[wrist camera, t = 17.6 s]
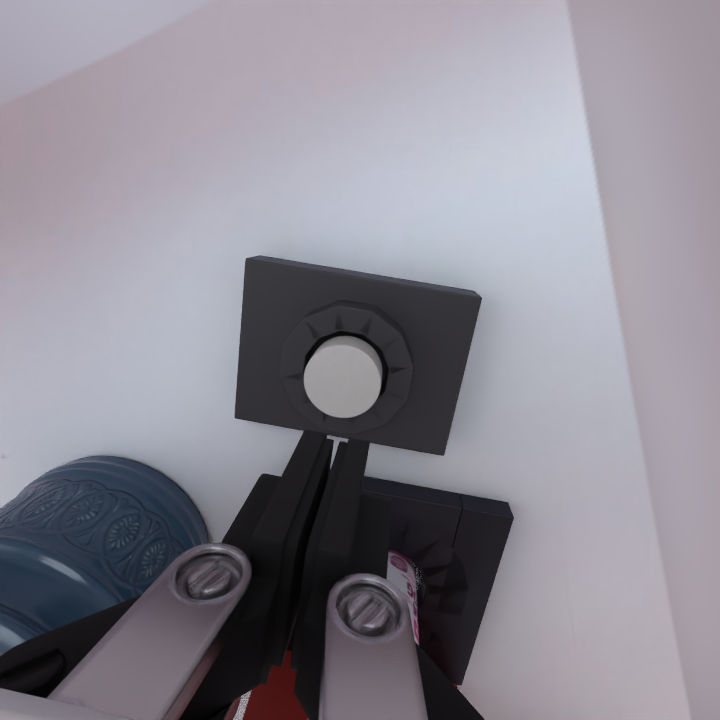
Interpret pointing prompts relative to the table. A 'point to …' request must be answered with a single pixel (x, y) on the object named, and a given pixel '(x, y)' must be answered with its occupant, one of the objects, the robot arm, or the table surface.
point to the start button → (343, 377)
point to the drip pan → (446, 563)
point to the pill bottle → (404, 584)
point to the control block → (361, 320)
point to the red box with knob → (276, 696)
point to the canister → (87, 542)
